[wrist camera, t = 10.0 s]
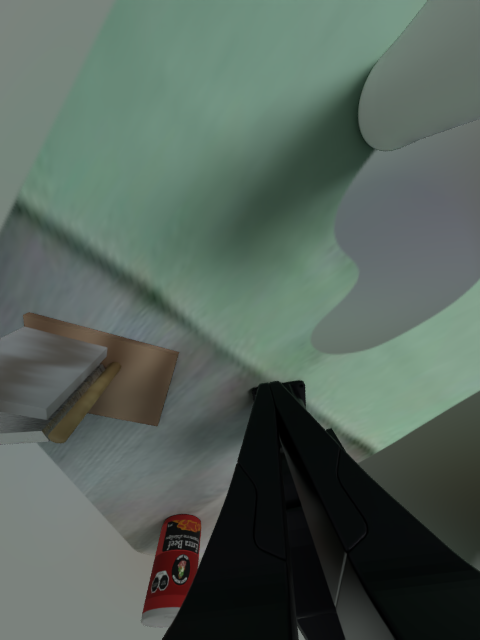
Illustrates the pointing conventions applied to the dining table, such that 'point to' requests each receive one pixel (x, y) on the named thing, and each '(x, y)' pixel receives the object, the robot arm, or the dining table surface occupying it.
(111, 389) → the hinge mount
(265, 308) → the dining table surface
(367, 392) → the dining table surface
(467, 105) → the white tapered cylinder
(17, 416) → the swinging leaf
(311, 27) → the dining table surface
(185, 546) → the canned food
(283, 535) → the robot arm
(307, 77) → the dining table surface
